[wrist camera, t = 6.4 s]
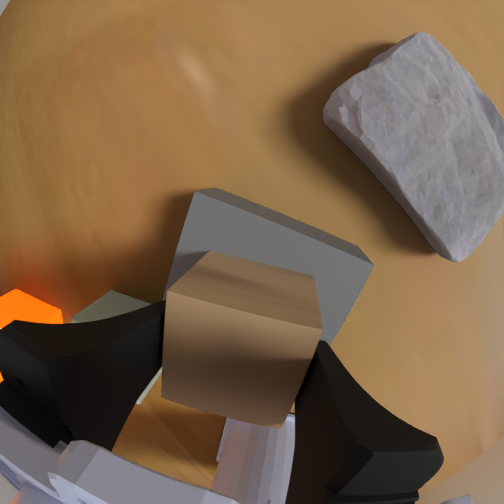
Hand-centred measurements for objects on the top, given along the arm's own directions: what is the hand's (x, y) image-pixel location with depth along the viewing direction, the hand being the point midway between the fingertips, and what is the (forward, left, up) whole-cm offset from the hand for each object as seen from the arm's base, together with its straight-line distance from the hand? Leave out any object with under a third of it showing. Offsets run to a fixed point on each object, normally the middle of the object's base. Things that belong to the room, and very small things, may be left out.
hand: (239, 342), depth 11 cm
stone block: (+12, -8, -7) cm, 16 cm away
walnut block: (0, 0, -3) cm, 3 cm away
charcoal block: (0, 0, -7) cm, 7 cm away
